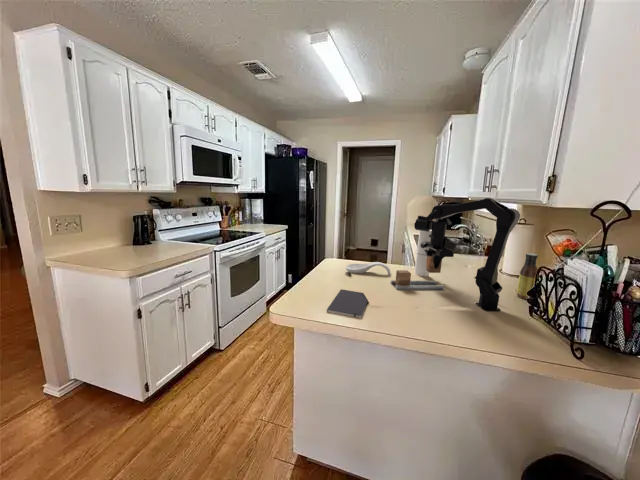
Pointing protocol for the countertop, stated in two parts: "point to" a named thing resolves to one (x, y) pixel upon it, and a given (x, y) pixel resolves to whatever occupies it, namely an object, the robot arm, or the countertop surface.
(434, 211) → the robot arm
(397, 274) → the fixed walnut finger
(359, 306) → the notebook
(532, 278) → the sauce bottle
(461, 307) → the countertop surface
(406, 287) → the rail
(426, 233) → the cylindrical container
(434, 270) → the brown wooden block
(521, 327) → the countertop surface
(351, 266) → the spoon rest
